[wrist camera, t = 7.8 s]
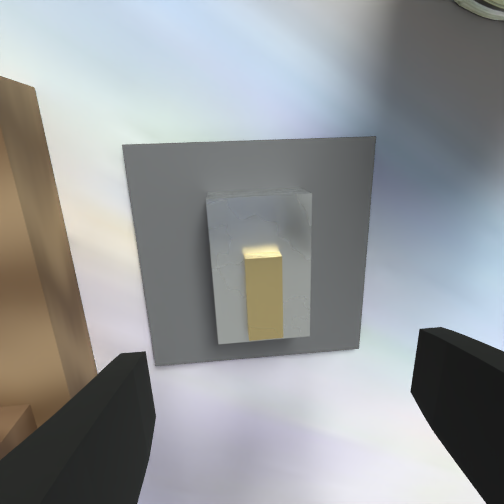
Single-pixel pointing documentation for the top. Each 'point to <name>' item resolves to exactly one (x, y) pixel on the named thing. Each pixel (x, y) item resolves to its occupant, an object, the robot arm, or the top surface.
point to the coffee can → (484, 8)
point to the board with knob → (34, 279)
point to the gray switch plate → (198, 246)
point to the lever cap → (261, 263)
